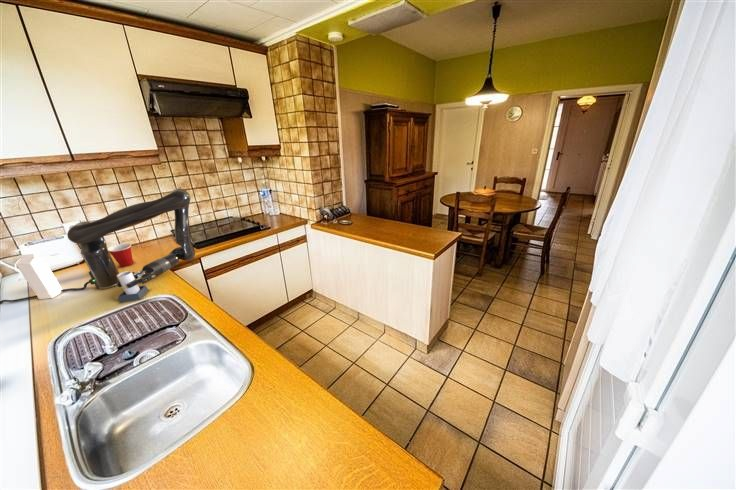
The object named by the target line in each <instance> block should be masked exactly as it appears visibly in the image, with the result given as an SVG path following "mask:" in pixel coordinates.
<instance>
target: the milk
mask: <svg viewBox="0 0 736 490" xmlns="http://www.w3.org/2000/svg"><path fill="white" fill-rule="evenodd" d="M19 257H20V259H19V260H18V261H17V263H16V267H17V268H18V270H19V271H20V273H21V274H22V276H23V277H24V279H25V280H26V282H27V284H28V285H29V287H30V288H31V289H32V292H34V294H35V295H37V297H36V298H38V300H45V299H46V300H47V299H53V298H55V297H57V296H58V295H60V294H62V293H63V292H61V290H63V287H62V286H61V284H60V282H59V281H58V278H57V277H56V276H55V274H54V273H53V272H54V271H52V269H51V267H50V266H49V264H48V262H47V261H46V260H45V257H41V256H40V257H39V256H35V254H33V253H31V254H21V255H19Z"/></svg>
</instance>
